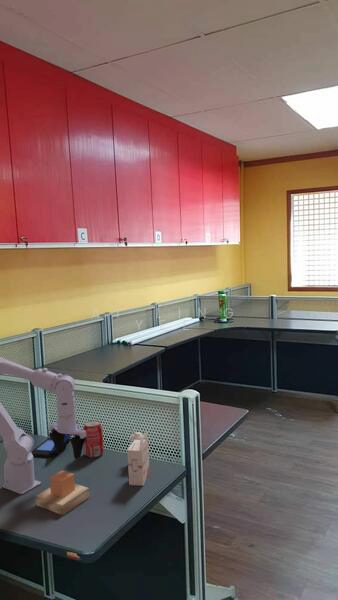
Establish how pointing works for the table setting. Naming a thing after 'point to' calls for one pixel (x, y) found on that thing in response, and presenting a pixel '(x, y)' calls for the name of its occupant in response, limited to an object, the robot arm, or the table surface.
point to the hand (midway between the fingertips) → (69, 455)
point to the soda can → (93, 439)
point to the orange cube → (62, 483)
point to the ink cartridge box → (138, 461)
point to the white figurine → (136, 436)
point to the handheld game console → (49, 447)
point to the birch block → (62, 500)
